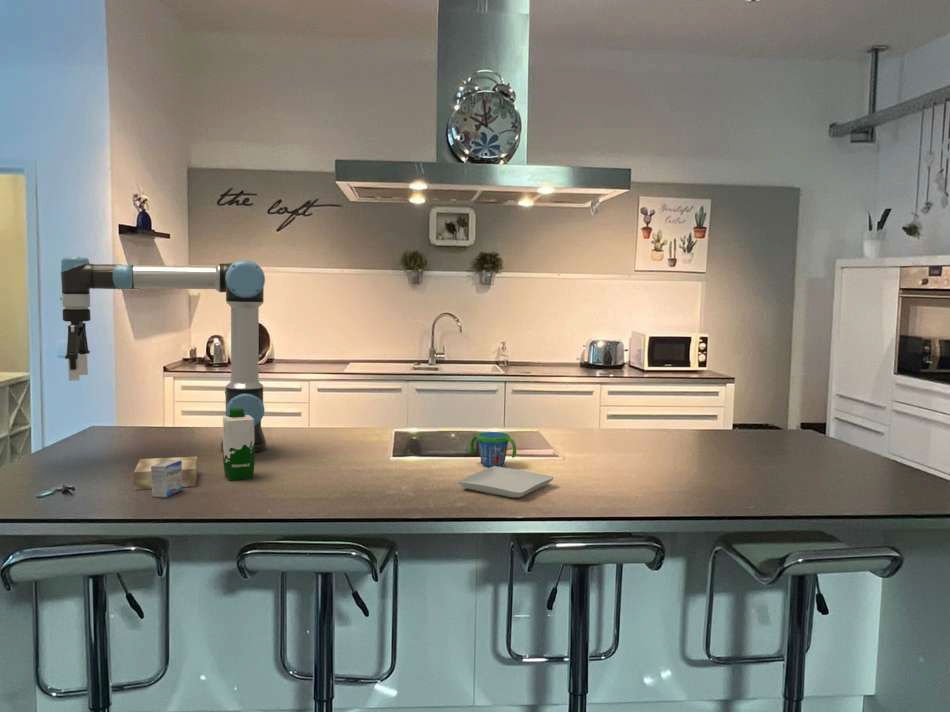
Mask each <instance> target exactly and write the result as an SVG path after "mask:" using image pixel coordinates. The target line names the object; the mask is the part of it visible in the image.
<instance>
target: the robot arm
mask: <svg viewBox="0 0 950 712" xmlns="http://www.w3.org/2000/svg"><path fill="white" fill-rule="evenodd" d="M265 277H266V276H265V273H264V270H263V269H262V267H261V266H260V265H259V264H258V263H256V262H255V261H252V260H251V259H250V260H249V259H239V260H237V261H234V262H229V263H217V264H216V265H215V266H214V265H213V266H212V265H211V266H209V265H207V266H205V265H203V266H202V265H201V266H200V265H153V264H152V265H147V264H146V265H144V264H143V265H141V264H140V265H139V264H134V265H132V264H120V263H118V264H112V263H111V264H103V263H102V264H95V263H90V260H89V258H88V257H85V256H84V257H80V256H79V257H78V256H77V257H76V256H65V257H63V258H62V259H61V270H60V278H61V293H62V296H60V298H59V299H60V301H61V303H62V304H61V305H62V307H63V309H62V321H63V322H69V323H70V324H69V325H67V341H66V343H67V345H66V355H64V359H65V360H67V364H68V365H67V366H68V381H69V382H70V381H73V382H77V381H80V376H88V373H89V372H88V370H89V369H88V355H89V354H90V353H91V351H90V349H89V347H88V346H89V344H88V338H87V337H88V336H87V330H86V326H87V325H86V322H90V321H91V309H90V307H91V294H90V293H91V292H90V289H93V290H95V289H98V290H99V289H100V290H119V291H120V290H130V289H158V290H159V289H163V290H164V289H165V290H167V289H168V290H169V289H170V290H171V289H173V290H176V289H177V290H181V289H182V290H216V291H217V292H218V293H225V302H226V304H227V305H229V307H230V382H229V383H228V384H226V385H225V391H224V394H225V416H230V410H231V409H244V415H249V416H251V417H252V418H253V419H254V445H255V453H260V452H263V451H265V450H266V449H267V441H266V438H265V437H266V436H265V434H264V431H263V429H262V420H263V417H264V416H265V405H264V385H263V384H262V383H261V382H260V381H259V359H260V358H259V354H260V353H259V351H260V350H259V345H260V344H259V341H260V340H259V338H260V337H259V331H260V330H259V329H260V328H259V327H260V326H259V324H260V323H259V315H260V314H259V313H260V312H259V308H260V307H261V306H262V305H263V303H264V293H265V292H264V291H265V290H264V287H265V283H266V278H265ZM220 451H221V452H222V453H223V438H222V439H221V441H220ZM259 451H260V452H259Z"/></svg>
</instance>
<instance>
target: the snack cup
mask: <svg viewBox="0 0 950 712" xmlns="http://www.w3.org/2000/svg"><path fill="white" fill-rule="evenodd" d="M476 439H477V441H478V448H479V449H478V450H479V456H480V463H481V465H482V466H483V467H485V468H486V467H487V468H490V467H493V466H497V467H503V466H504V465H505V462H506V457H507V451H508V445H509V442H510V443H511V447H512V454H511V457H512V459H514V458H515V457H516V455H517V446H516V442H515V441H514V439H513V438H512V437H511V436H510V434H509V433H506V432H502V431H501V432H500V431H486V432H479V433H477V435H475V436H473V437H472V439H471V441H470V446H469V450H470V453H471V454H474V453H475V451H476V450H475V445H474V443H475V441H476Z"/></svg>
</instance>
